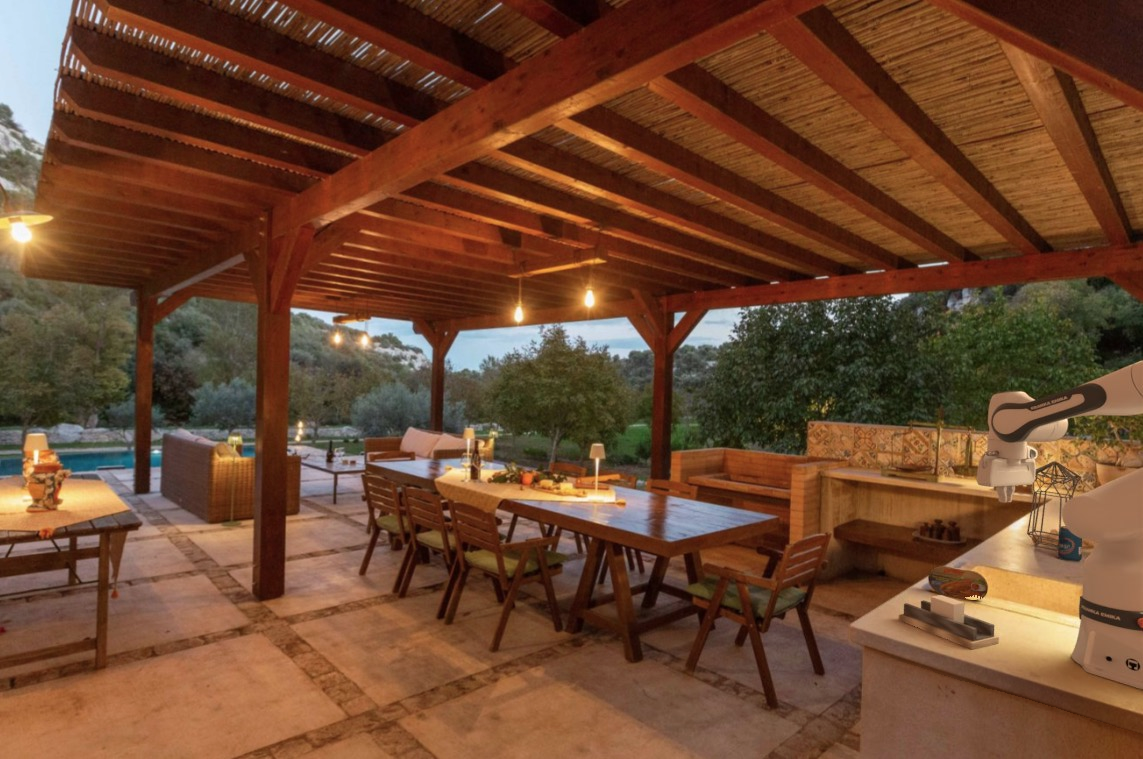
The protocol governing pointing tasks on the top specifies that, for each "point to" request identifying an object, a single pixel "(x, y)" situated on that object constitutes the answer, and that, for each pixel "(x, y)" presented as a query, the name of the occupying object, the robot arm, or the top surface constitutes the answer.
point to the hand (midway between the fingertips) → (1005, 502)
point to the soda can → (1069, 546)
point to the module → (948, 608)
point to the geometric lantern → (1041, 469)
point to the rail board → (950, 626)
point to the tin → (957, 582)
